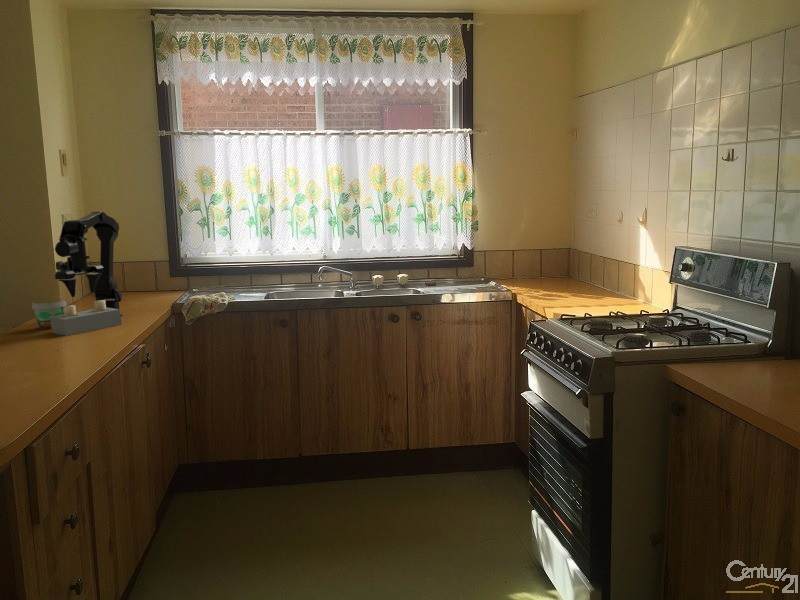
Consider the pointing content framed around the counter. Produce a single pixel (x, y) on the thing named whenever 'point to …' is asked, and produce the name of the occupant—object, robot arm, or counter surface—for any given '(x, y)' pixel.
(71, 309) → the birch peg
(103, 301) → the birch peg
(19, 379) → the counter surface
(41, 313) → the food container
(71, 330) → the grey peg board
